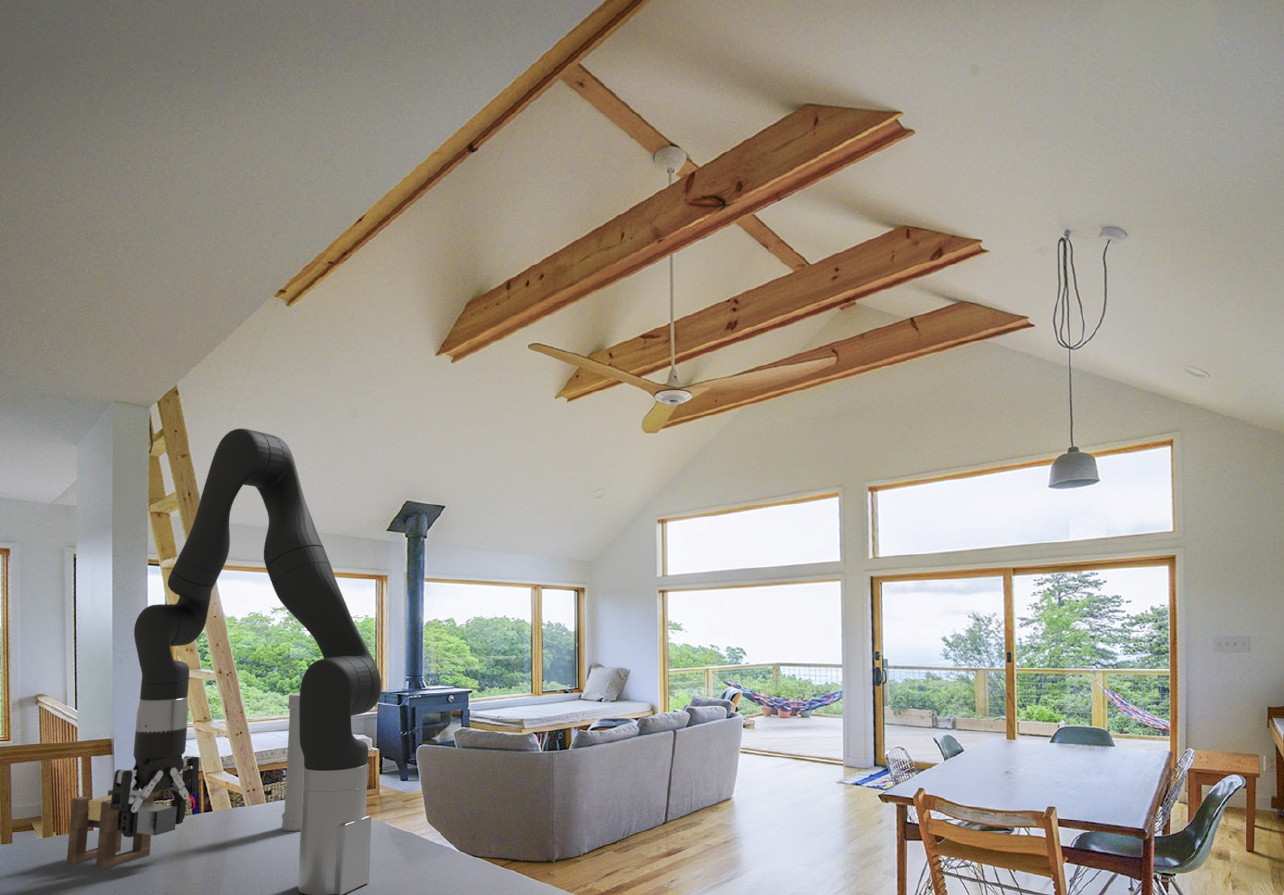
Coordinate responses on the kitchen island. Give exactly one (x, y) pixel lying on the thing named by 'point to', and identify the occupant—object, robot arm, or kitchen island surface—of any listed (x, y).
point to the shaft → (150, 819)
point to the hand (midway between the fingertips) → (153, 829)
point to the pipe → (293, 769)
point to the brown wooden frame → (102, 836)
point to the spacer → (96, 807)
